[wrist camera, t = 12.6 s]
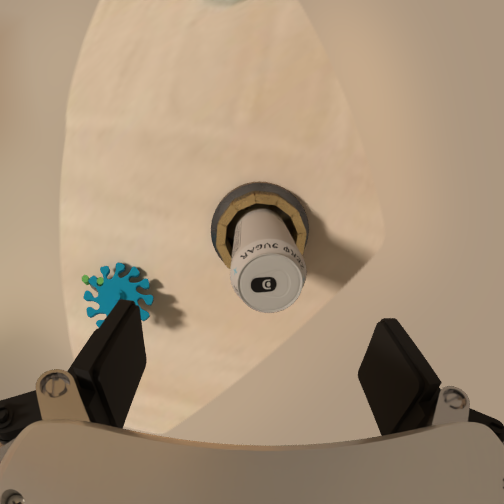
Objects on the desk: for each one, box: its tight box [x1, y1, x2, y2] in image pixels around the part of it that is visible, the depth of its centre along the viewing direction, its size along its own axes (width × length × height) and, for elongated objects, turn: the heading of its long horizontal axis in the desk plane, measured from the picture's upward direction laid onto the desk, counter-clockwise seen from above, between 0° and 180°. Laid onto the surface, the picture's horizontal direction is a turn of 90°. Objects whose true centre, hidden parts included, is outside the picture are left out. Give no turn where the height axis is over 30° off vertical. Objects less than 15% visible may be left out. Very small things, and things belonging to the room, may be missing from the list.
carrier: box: [211, 182, 309, 269], centre depth 34 cm, size 12×12×4 cm
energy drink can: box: [230, 208, 307, 313], centre depth 28 cm, size 6×6×15 cm
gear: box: [82, 263, 153, 327], centre depth 37 cm, size 11×6×10 cm
